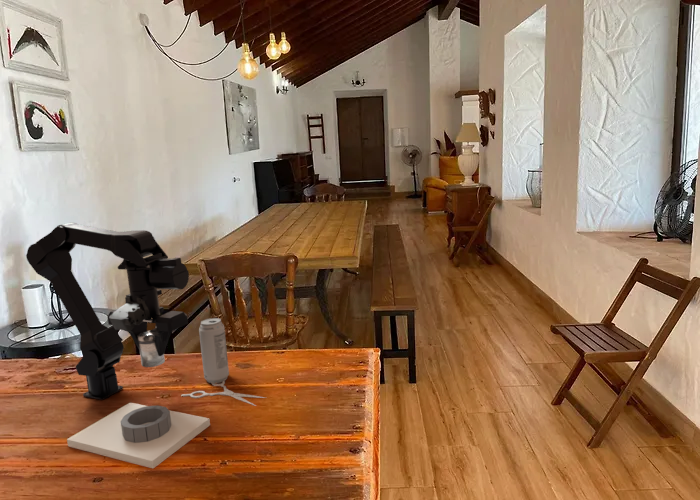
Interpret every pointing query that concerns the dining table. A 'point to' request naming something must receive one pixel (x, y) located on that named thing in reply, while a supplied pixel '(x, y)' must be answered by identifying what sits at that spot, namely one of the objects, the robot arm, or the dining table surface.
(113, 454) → the plate
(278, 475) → the dining table surface
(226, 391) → the scissors
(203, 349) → the energy drink can
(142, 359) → the piston
